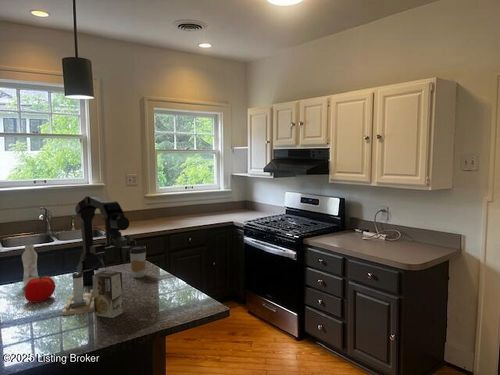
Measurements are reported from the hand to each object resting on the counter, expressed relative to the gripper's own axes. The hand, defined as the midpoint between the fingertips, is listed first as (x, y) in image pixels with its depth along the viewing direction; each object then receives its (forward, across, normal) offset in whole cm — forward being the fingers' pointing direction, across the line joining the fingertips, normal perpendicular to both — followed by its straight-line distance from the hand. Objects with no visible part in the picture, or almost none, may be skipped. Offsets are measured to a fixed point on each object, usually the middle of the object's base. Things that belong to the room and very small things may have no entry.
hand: (115, 265), depth 160 cm
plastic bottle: (+9, -20, +47) cm, 52 cm away
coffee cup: (+12, +23, +21) cm, 33 cm away
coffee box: (+16, -11, -14) cm, 24 cm away
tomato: (+12, -24, +23) cm, 35 cm away
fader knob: (+12, -17, 0) cm, 21 cm away
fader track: (+14, -14, +4) cm, 20 cm away
